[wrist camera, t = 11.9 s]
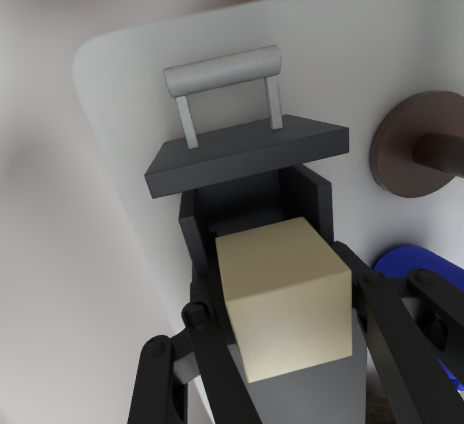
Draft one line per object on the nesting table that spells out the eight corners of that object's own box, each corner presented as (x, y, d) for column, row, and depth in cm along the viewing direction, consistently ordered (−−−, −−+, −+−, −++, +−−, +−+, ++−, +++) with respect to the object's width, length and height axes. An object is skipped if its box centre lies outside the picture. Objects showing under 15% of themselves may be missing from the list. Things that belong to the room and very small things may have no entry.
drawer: (145, 81, 18) (105, 70, 10) (280, 51, 18) (348, 17, 10) (209, 289, 26) (216, 377, 18) (303, 266, 26) (351, 342, 18)
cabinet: (192, 250, 25) (191, 350, 15) (301, 223, 25) (369, 304, 16) (226, 358, 32) (241, 476, 22) (312, 335, 32) (364, 441, 22)
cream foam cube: (214, 237, 14) (224, 303, 10) (303, 215, 15) (352, 270, 10) (232, 304, 16) (247, 384, 12) (309, 285, 17) (352, 356, 12)
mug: (366, 327, 33) (432, 416, 24) (357, 250, 28) (438, 326, 19) (429, 306, 33) (519, 387, 24) (432, 225, 28) (549, 289, 19)
